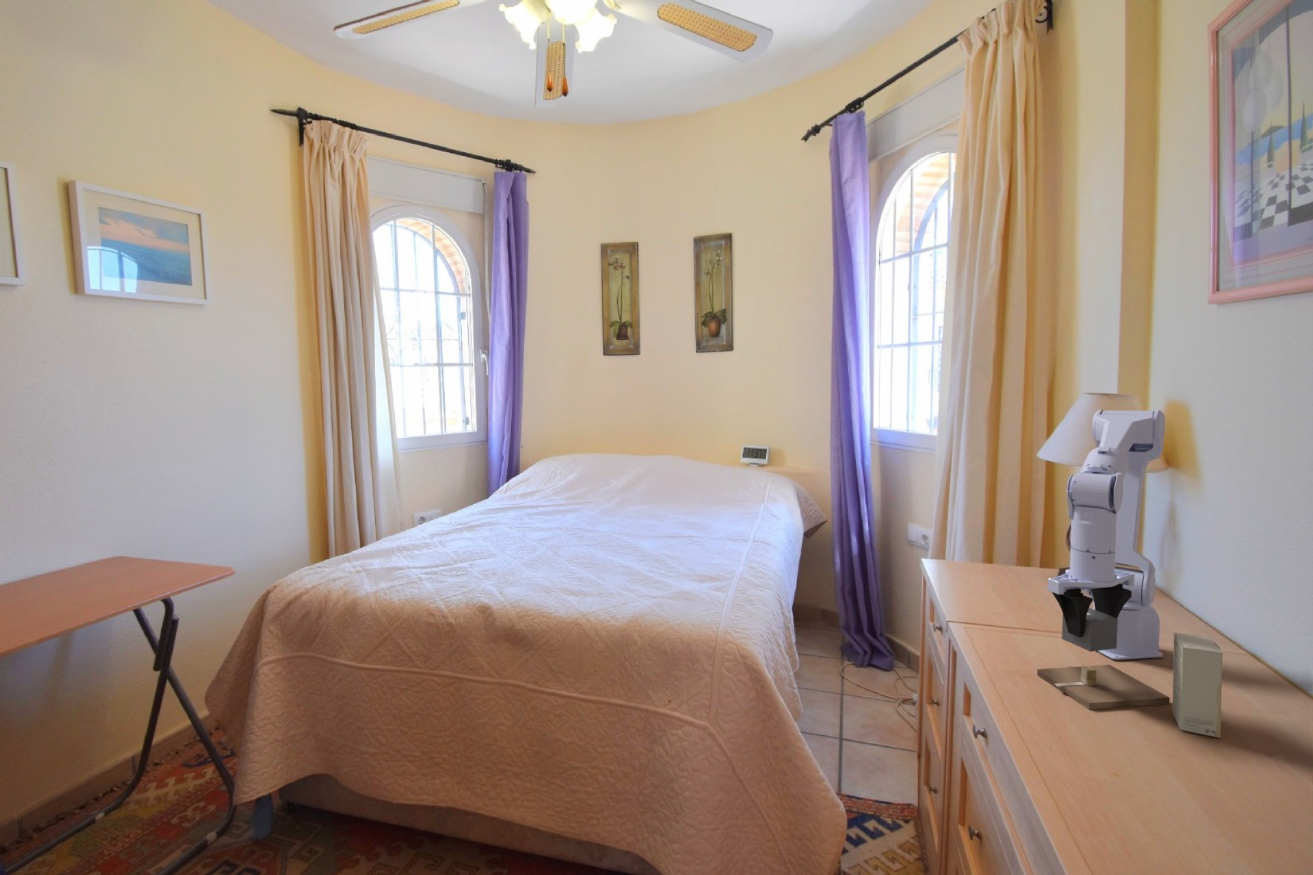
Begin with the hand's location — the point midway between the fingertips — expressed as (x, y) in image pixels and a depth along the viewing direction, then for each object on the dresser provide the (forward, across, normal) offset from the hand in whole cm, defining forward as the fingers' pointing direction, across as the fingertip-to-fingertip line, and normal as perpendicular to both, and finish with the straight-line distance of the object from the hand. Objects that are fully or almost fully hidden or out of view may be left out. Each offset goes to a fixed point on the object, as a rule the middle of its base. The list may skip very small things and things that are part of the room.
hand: (1089, 632), depth 95 cm
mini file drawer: (+2, 0, 0) cm, 2 cm away
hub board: (+9, -2, 0) cm, 10 cm away
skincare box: (+10, -5, +12) cm, 16 cm away
